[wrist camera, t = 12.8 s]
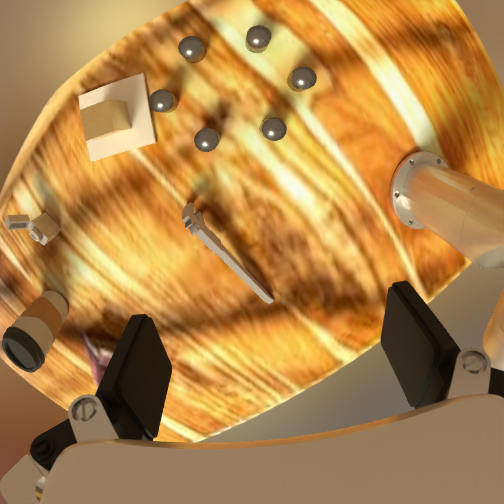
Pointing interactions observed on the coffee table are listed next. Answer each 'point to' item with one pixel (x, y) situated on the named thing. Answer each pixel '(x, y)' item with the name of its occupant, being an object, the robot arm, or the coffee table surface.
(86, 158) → the coffee table surface
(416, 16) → the coffee table surface
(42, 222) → the lighter
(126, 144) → the coaster
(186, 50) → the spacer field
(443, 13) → the coffee table surface
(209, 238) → the caliper
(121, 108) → the tan rectangular block
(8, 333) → the coffee cup
